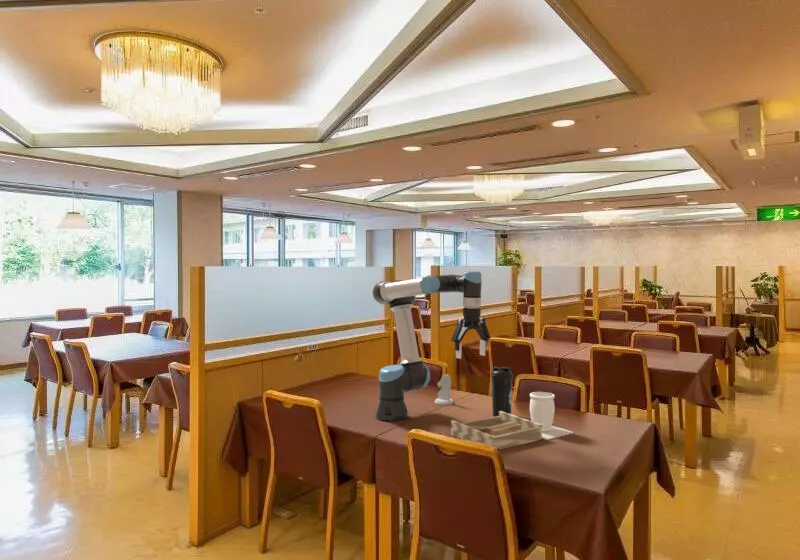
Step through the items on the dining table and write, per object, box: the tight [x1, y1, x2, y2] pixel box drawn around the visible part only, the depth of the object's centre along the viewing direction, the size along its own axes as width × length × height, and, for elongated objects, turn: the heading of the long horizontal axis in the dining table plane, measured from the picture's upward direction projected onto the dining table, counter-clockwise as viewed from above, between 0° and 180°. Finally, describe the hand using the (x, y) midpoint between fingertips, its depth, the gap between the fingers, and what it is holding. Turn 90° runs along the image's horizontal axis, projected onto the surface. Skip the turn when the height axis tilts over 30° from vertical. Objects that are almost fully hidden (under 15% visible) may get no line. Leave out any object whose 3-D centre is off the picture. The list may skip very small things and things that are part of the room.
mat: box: [542, 424, 575, 441], centre depth 225 cm, size 20×16×1 cm
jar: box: [529, 391, 556, 432], centre depth 225 cm, size 11×10×15 cm
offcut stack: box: [485, 421, 522, 437], centre depth 212 cm, size 6×18×6 cm, turn 126°
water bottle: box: [490, 365, 514, 417], centre depth 248 cm, size 10×10×23 cm
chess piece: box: [434, 373, 454, 406], centre depth 271 cm, size 10×10×15 cm
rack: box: [450, 411, 543, 451], centre depth 216 cm, size 24×28×6 cm
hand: (470, 356), depth 225 cm, fingers open, 13 cm apart
